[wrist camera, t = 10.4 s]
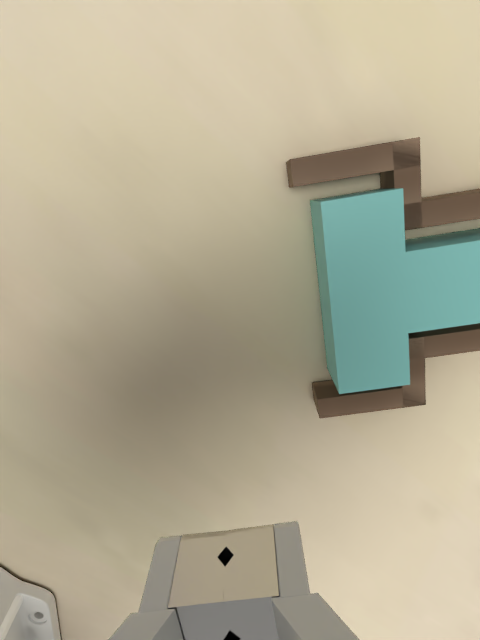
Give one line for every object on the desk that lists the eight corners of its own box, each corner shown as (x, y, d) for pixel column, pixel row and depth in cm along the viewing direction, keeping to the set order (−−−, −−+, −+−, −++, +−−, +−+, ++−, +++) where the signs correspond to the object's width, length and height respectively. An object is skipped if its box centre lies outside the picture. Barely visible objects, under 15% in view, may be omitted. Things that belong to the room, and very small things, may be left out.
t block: (515, 341, 29) (557, 364, 25) (327, 367, 29) (339, 394, 26) (525, 164, 25) (575, 159, 21) (309, 200, 26) (320, 201, 22)
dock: (543, 370, 29) (569, 386, 27) (314, 400, 30) (319, 418, 28) (563, 114, 24) (597, 106, 22) (286, 162, 25) (290, 159, 23)
